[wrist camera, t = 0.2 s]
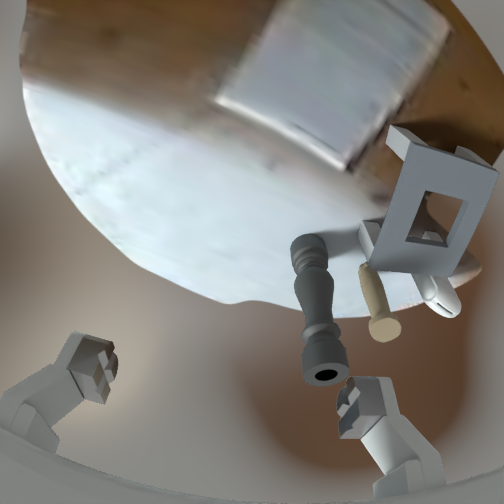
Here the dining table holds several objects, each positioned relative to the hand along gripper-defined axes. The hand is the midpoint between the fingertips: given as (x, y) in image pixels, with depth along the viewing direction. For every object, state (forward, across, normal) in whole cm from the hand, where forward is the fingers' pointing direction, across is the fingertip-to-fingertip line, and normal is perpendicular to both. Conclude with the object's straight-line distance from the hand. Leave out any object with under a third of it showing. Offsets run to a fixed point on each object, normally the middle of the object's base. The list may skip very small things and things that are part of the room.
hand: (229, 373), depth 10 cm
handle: (+42, -23, +22) cm, 52 cm away
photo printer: (+42, -36, +20) cm, 58 cm away
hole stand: (+40, -26, +5) cm, 48 cm away
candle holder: (+41, -11, +19) cm, 47 cm away
